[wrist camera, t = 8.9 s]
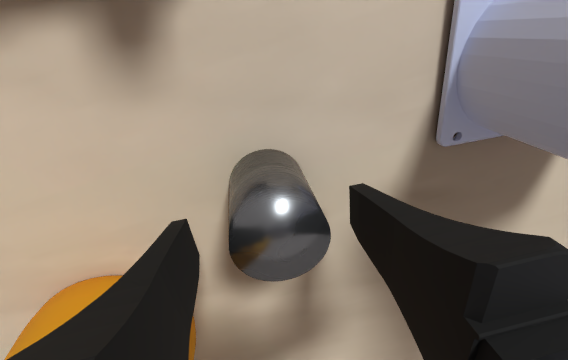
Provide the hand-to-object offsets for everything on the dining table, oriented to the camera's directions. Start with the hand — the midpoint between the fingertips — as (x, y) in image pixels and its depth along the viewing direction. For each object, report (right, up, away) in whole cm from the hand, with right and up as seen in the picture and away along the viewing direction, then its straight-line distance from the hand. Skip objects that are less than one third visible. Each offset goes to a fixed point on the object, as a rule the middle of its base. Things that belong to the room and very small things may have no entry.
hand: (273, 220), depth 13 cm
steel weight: (0, +2, +3) cm, 3 cm away
